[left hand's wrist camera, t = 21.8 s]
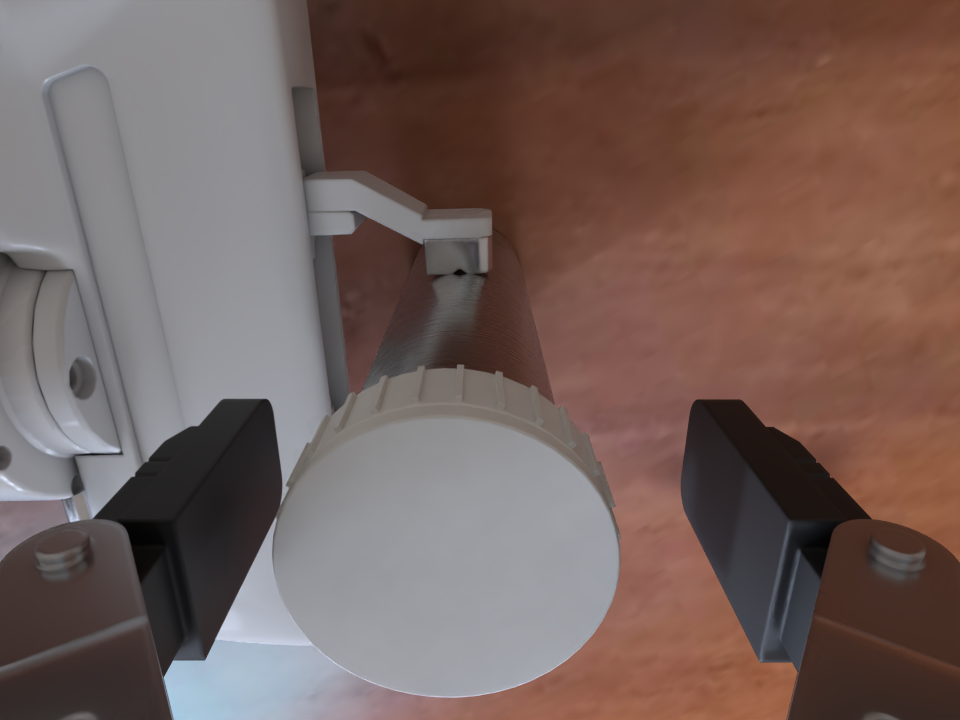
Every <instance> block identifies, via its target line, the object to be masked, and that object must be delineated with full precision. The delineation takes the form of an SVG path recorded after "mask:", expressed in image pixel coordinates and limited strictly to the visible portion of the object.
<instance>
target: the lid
mask: <svg viewBox="0 0 960 720" xmlns="http://www.w3.org/2000/svg"><path fill="white" fill-rule="evenodd" d="M286 486H287V487H289V489H288V491H287V493H286V495H285V497H284V499H283V501H282V503H281V505H280V507H279V510H278V512H277V515H276V519H277V521H276V526H275V530H274V534H273V546H272V560H273V570H274V576H275V580H276V584H277V588H278V592H279V594H280V597H281V599H282V601H283V603H284V606H285V608H286V610H287V612H288V613H289V615H290V617H291V618H292V620H293V621H294V623H295V625H296V626H297V627H298V629H299V630H300V631H301V632H302V633H303V635H304V636H305V637H306V638H307V640H308V641H309V642H310V643H312V644H313V645H314V646H315V647H316V648H317V649H318V650H319V651H320V652H321V653H322V654H323V655H325V656H326V657H327V658H329V659H330V660H332V661H333V662H334V663H336V664H337V665H338V666H340V667H342V668H344V669H345V670H347V671H349V672H350V673H352V674H354V675H356V676H358V677H360V678H362V679H365V680H367V681H369V682H371V683H374V684H377V685H380V686H383V687H386V688H389V689H392V690H396V691H400V692H405V693H409V694H414V695H422V696H430V697H467V696H477V695H483V694H489V693H495V692H499V691H502V690H506V689H510V688H513V687H516V686H519V685H521V684H524V683H527V682H529V681H532V680H534V679H536V678H538V677H540V676H542V675H544V674H546V673H547V672H549V671H551V670H553V669H554V668H556V667H557V666H559V665H560V664H562V663H563V662H565V661H566V660H567V659H568V658H570V657H571V656H572V655H573V654H574V653H575V652H577V651H578V650H579V649H580V648H581V647H582V646H583V645H584V644H585V643H586V642H587V640H588V639H589V638H590V637H591V636H592V635H593V634H594V632H595V631H596V629H597V628H598V626H599V625H600V623H601V622H602V620H603V619H604V617H605V615H606V613H607V611H608V609H609V607H610V605H611V603H612V600H613V597H614V593H615V590H616V587H617V584H618V577H619V571H620V544H619V540H620V532H619V529H618V526H617V523H616V520H615V517H614V514H613V511H612V507H615V503H614V500H613V497H612V494H611V491H610V488H609V485H608V482H607V479H606V476H605V473H604V470H603V467H602V464H601V462H600V461H599V462H597V461H596V457H595V454H594V451H593V448H592V445H591V442H590V439H589V436H588V435H587V433H586V432H584V433H582V434H581V433H580V432H579V430H578V429H577V428H576V426H575V425H574V423H573V422H572V421H571V420H570V419H569V416H568V412H567V409H566V408H564V407H563V406H562V407H560V408H558V407H557V406H555V405H554V404H553V403H551V402H550V401H549V400H548V399H546V398H545V397H544V396H542V395H540V394H539V392H538V388H537V387H535V386H534V385H532V386H531V387H530V388H528V387H527V386H524V385H522V384H520V383H517V382H515V381H513V380H510V379H508V378H505V377H503V373H502V372H499V371H496V373H495V375H494V374H491V373H487V372H482V371H475V370H469V369H464V365H457V369H454V368H440V369H428V370H425V366H419V367H418V369H417V371H415V372H411V373H406V374H401V375H398V376H396V377H393V378H390V379H389V378H388V376H387V375H385V376H383V377H381V378H380V381H379V383H377V384H375V385H373V386H371V387H369V388H367V389H365V390H363V391H362V392H360V393H359V394H358V395H356V394H355V393H354V392H352V393H351V394H349V395H348V397H347V399H346V402H345V404H344V405H343V406H342V407H341V408H340V409H338V410H337V411H336V412H335V413H334V414H333V415H332V416H331V417H329V416H328V415H326V416H325V417H324V418H323V419H322V421H321V423H320V425H319V427H318V429H317V431H316V433H315V435H314V437H313V439H312V441H311V443H308V442H307V444H306V445H305V447H304V449H303V451H302V453H301V455H300V457H299V459H298V461H297V463H296V465H295V467H294V469H293V471H292V473H291V475H290V477H289V479H288V481H287V483H286Z"/></svg>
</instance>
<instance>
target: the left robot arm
mask: <svg viewBox="0 0 960 720" xmlns="http://www.w3.org/2000/svg"><path fill="white" fill-rule="evenodd" d="M681 496H682V503H683V507H684V510H685V513H686V515H687V517H688V519H689V521H690V523H691V525H692V527H693V529H694V531H695V533H696V535H697V537H698V539H699V541H700V543H701V545H702V547H703V549H704V552H705V554H706V556H707V558H708V560H709V562H710V564H711V566H712V568H713V570H714V572H715V574H716V576H717V578H718V580H719V582H720V584H721V586H722V588H723V590H724V592H725V594H726V596H727V598H728V600H729V602H730V604H731V606H732V608H733V610H734V612H735V614H736V616H737V618H738V620H739V622H740V624H741V626H742V628H743V630H744V632H745V634H746V636H747V638H748V640H749V642H750V644H751V646H752V648H753V650H754V652H755V654H756V656H757V658H758V660H759V662H792V663H793V665H794V666H795V668H796V670H797V672H798V674H797V678H796V682H795V686H794V690H793V694H792V698H791V702H790V706H789V711H788V715H787V719H786V720H960V563H959V561H958V560H957V559H956V557H955V556H954V555H953V554H952V553H951V552H950V551H949V550H947V549H946V548H945V547H944V546H942V545H941V544H939V543H938V542H936V541H935V540H933V539H931V538H930V537H928V536H926V535H924V534H922V533H920V532H918V531H915V530H913V529H910V528H908V527H904V526H901V525H898V524H895V523H891V522H886V521H880V520H872V519H871V518H870V517H869V515H868V514H867V513H866V512H865V511H864V510H863V509H862V508H861V507H860V506H859V505H858V504H857V503H856V502H855V501H854V499H853V498H852V497H851V496H850V495H849V494H848V493H847V492H846V491H845V490H844V489H843V488H842V487H841V486H840V485H839V484H838V482H837V481H836V480H835V479H834V478H830V474H829V473H828V472H827V471H826V470H825V469H824V468H823V467H822V465H821V464H820V463H816V459H815V458H814V457H813V456H812V455H811V454H810V453H809V452H808V451H807V449H806V448H805V447H804V446H803V445H802V444H801V443H800V442H799V441H797V440H795V439H793V438H792V437H790V436H788V435H786V434H785V433H783V432H781V431H779V430H778V429H776V428H774V427H765V425H764V424H763V423H762V422H761V421H760V420H759V419H758V418H757V416H756V415H755V414H754V413H753V412H752V411H751V410H750V408H749V407H748V406H747V405H746V404H745V403H744V402H743V401H742V400H695V401H694V403H693V405H692V407H691V411H690V416H689V424H688V431H687V438H686V446H685V453H684V460H683V468H682V475H681ZM281 498H282V472H281V464H280V457H279V449H278V442H277V434H276V427H275V419H274V413H273V408H272V405H271V403H270V401H269V400H268V399H222V400H221V401H220V402H219V403H218V404H217V405H216V406H215V407H214V409H213V410H212V411H211V412H210V413H209V414H208V416H207V417H206V418H205V419H204V420H203V421H202V422H201V424H200V425H199V426H190V427H188V428H187V429H185V430H183V431H181V432H180V433H178V434H176V435H174V436H173V437H171V438H169V439H167V440H166V441H164V442H163V443H162V444H161V445H160V447H159V448H158V449H157V450H156V451H155V452H154V453H153V454H152V455H151V456H150V457H149V461H148V462H145V463H144V464H143V465H142V466H141V467H140V468H139V469H138V470H137V471H136V472H135V477H131V478H130V479H129V480H128V481H127V482H126V483H125V484H124V485H123V486H122V487H121V488H120V490H119V491H118V492H117V493H116V494H115V495H114V496H113V497H112V498H111V499H110V500H109V501H108V502H107V504H106V505H105V506H104V507H103V508H102V509H101V510H100V511H99V512H98V513H97V514H96V515H95V516H94V517H93V519H88V520H80V521H74V522H69V523H65V524H62V525H59V526H56V527H52V528H50V529H47V530H45V531H42V532H40V533H38V534H36V535H34V536H32V537H30V538H29V539H27V540H25V541H24V542H22V543H21V544H19V545H18V546H16V547H15V548H14V549H13V550H11V551H10V552H9V553H8V554H7V555H6V556H5V557H4V559H3V560H2V561H1V563H0V720H174V719H173V715H172V711H171V706H170V702H169V698H168V694H167V690H166V686H165V682H164V676H165V674H166V672H167V670H168V668H169V667H170V665H171V663H172V661H173V660H205V659H206V657H207V655H208V653H209V651H210V649H211V647H212V645H213V643H214V641H215V639H216V637H217V635H218V633H219V631H220V629H221V627H222V625H223V623H224V621H225V619H226V617H227V615H228V613H229V611H230V609H231V607H232V604H233V602H234V600H235V598H236V596H237V594H238V592H239V590H240V588H241V586H242V584H243V582H244V580H245V578H246V576H247V574H248V572H249V570H250V568H251V566H252V564H253V562H254V560H255V558H256V556H257V554H258V552H259V550H260V548H261V546H262V544H263V542H264V540H265V538H266V535H267V533H268V531H269V529H270V527H271V525H272V523H273V521H274V519H275V517H276V515H277V512H278V510H279V507H280V503H281Z"/></svg>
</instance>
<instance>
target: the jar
mask: <svg viewBox="0 0 960 720" xmlns="http://www.w3.org/2000/svg"><path fill="white" fill-rule="evenodd" d="M492 265H493V268H492V271H489V272H487V273H480V274H470V273H466V272H464V271H463V270H461V269H458V270H457V271H455V272H454V273H453V274H447V275H427V271H426V259H425V246H424V244H423V245H422V247H421V248H420V250H419V252H418V254H417V257H416V259H415V261H414V264H413V266H412V269H411V271H410V274H409V276H408V279H407V281H406V284H405V286H404V288H403V291H402V293H401V296H400V298H399V301H398V303H397V306H396V308H395V311H394V313H393V316H392V318H391V320H390V323H389V325H388V328H387V330H386V333H385V335H384V338H383V340H382V343H381V345H380V347H379V350H378V352H377V355H376V357H375V360H374V362H373V365H372V367H371V370H370V372H369V374H368V377H367V379H366V382H365V384H364V387H363V389H362V391H363V390H365V389H367V388H369V387H371V386H373V385H375V384H377V383H379V381H380V378H381V377H383V376H385V375H387V376H388V378H389V379H390V378H393V377H396V376H398V375H401V374H406V373H411V372H415V371H417V369H418V367H419V366H425V370H428V369H440V368H454V369H457V365H464V369H469V370H475V371H482V372H487V373H491V374H494V375H495V373H496V371H499V372H502V373H503V377H505V378H508V379H510V380H513V381H515V382H517V383H520V384H522V385H524V386H527V387H528V388H530V387H531V386H532V385H534V386H535V387H537V388H538V392H539V394H540V395H542V396H544V397H545V398H546V399H548V400H549V401H550V402H551V403H553V404H554V405H555V403H554V399H553V395H552V391H551V387H550V383H549V379H548V375H547V371H546V367H545V363H544V359H543V355H542V351H541V347H540V343H539V339H538V335H537V330H536V326H535V322H534V318H533V314H532V310H531V306H530V302H529V298H528V294H527V290H526V286H525V282H524V278H523V274H522V270H521V266H520V262H519V259H518V256H517V254H516V252H515V250H514V248H513V247H512V245H511V244H510V243H509V242H508V241H507V239H506V238H505V237H503V236H502V235H501V234H500V233H498V232H497V231H495V230H494V229H492Z"/></svg>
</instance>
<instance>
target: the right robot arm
mask: <svg viewBox="0 0 960 720" xmlns="http://www.w3.org/2000/svg"><path fill="white" fill-rule="evenodd" d="M367 217H368V218H370V219H372V220H374V221H376V222H378V223H380V224H382V225H384V226H386V227H388V228H390V229H392V230H394V231H396V232H398V233H400V234H402V235H404V236H406V237H408V238H410V239H412V240H414V241H416V242H418V243H420V244H422V245H423V244H424V246H425V259H426V271H427V275H447V274H453V273H454V272H455V271H457V270H458V269H461V270H463V271H464V272H466V273H470V274H480V273H487V272H489V271H492V268H493V265H492V212H491V210H490V209H483V208H462V209H428V208H427V204H425V203H423V202H421V201H419V200H418V199H416V198H414V197H412V196H410V195H408V194H407V193H405V192H403V191H401V190H399V189H398V188H396V187H394V186H392V185H390V184H389V183H387V182H385V181H383V180H381V179H379V178H378V177H376V176H374V175H372V174H370V173H369V172H367V171H365V170H360V171H326V169H325V160H324V151H323V142H322V133H321V124H320V115H319V106H318V97H317V88H316V79H315V70H314V61H313V53H312V44H311V35H310V26H309V16H308V7H307V0H0V501H34V500H60V499H61V500H62V503H63V506H64V509H65V512H66V515H67V519H68V522H74V521H80V520H88V519H93V517H94V516H95V515H96V514H97V513H98V512H99V511H100V510H101V509H102V508H103V507H104V506H105V505H106V504H107V502H108V501H109V500H110V499H111V498H112V497H113V496H114V495H115V494H116V493H117V492H118V491H119V490H120V488H121V487H122V486H123V485H124V484H125V483H126V482H127V481H128V480H129V479H130V478H131V477H135V472H136V471H137V470H138V469H139V468H140V467H141V466H142V465H143V464H144V463H145V462H148V461H149V457H150V456H151V455H152V454H153V453H154V452H155V451H156V450H157V449H158V448H159V447H160V445H161V444H162V443H163V442H164V441H166V440H167V439H169V438H171V437H173V436H174V435H176V434H178V433H180V432H181V431H183V430H185V429H187V428H188V427H190V426H199V425H200V424H201V422H202V421H203V420H204V419H205V418H206V417H207V416H208V414H209V413H210V412H211V411H212V410H213V409H214V407H215V406H216V405H217V404H218V403H219V402H220V401H221V400H222V399H268V400H269V401H270V403H271V405H272V408H273V413H274V419H275V427H276V434H277V442H278V449H279V457H280V464H281V472H282V498H281V503H282V501H283V499H284V497H285V495H286V493H287V491H288V489H289V487H287V486H286V483H287V481H288V479H289V477H290V475H291V473H292V471H293V469H294V467H295V465H296V463H297V461H298V459H299V457H300V455H301V453H302V451H303V449H304V447H305V445H306V444H307V442H308V443H311V441H312V439H313V437H314V435H315V433H316V431H317V429H318V427H319V425H320V423H321V421H322V419H323V418H324V417H325V416H326V415H328V416H329V417H331V416H332V415H333V414H334V413H335V412H336V411H337V410H338V409H340V408H341V407H342V406H343V405H344V404H345V402H346V399H347V397H348V395H349V394H351V393H350V384H349V375H348V366H347V357H346V348H345V339H344V330H343V321H342V312H341V303H340V294H339V285H338V276H337V267H336V258H335V249H334V241H333V235H343V234H352V233H353V232H354V231H355V230H356V229H357V228H358V227H359V226H360V225H361V223H362V222H363V221H364V220H365V219H366V218H367ZM281 503H280V505H281ZM276 521H277V519H276V517H275V519H274V521H273V523H272V525H271V527H270V529H269V531H268V533H267V535H266V538H265V540H264V542H263V544H262V546H261V548H260V550H259V552H258V554H257V556H256V558H255V560H254V562H253V564H252V566H251V568H250V570H249V572H248V574H247V576H246V578H245V580H244V582H243V584H242V586H241V588H240V590H239V592H238V594H237V596H236V598H235V600H234V602H233V604H232V607H231V609H230V611H229V613H228V615H227V617H226V619H225V621H224V623H223V625H222V627H221V629H220V631H219V633H218V635H217V637H216V639H215V640H225V641H236V642H246V643H259V644H276V645H306V646H309V645H313V644H312V643H310V642H309V641H308V640H307V638H306V637H305V636H304V635H303V633H302V632H301V631H300V630H299V629H298V627H297V626H296V625H295V623H294V621H293V620H292V618H291V617H290V615H289V613H288V612H287V610H286V608H285V606H284V603H283V601H282V599H281V597H280V594H279V592H278V588H277V584H276V580H275V576H274V570H273V560H272V546H273V534H274V530H275V526H276Z"/></svg>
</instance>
